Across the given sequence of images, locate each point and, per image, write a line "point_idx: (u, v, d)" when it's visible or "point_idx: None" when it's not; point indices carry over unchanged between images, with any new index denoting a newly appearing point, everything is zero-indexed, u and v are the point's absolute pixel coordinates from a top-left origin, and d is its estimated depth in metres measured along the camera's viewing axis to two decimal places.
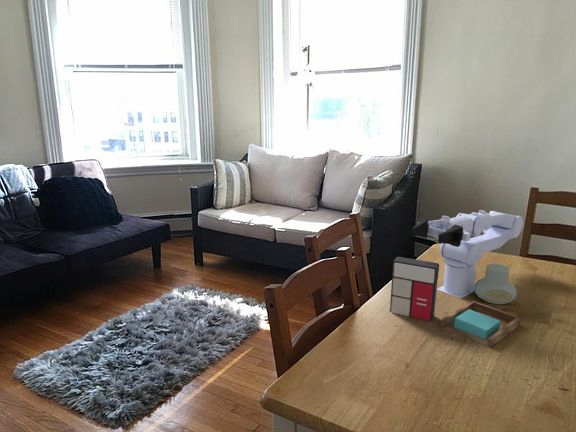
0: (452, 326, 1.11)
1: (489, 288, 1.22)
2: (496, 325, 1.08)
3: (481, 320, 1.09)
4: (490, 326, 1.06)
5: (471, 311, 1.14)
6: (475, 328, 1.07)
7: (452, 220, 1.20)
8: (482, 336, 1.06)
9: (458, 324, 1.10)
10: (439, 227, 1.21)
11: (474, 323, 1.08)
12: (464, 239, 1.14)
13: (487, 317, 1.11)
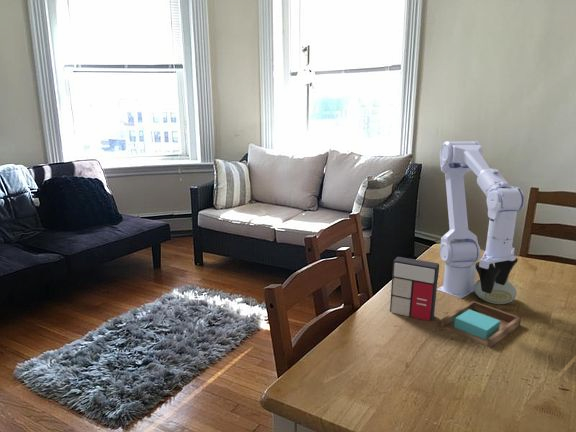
0: (452, 326, 1.11)
1: None
2: (496, 325, 1.08)
3: (481, 320, 1.09)
4: (490, 326, 1.06)
5: (471, 311, 1.14)
6: (475, 328, 1.07)
7: (511, 247, 1.08)
8: (482, 336, 1.06)
9: (458, 324, 1.10)
10: None
11: (474, 323, 1.08)
12: None
13: (487, 317, 1.11)
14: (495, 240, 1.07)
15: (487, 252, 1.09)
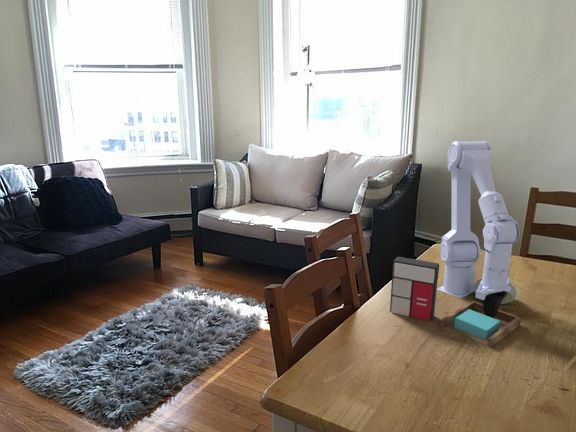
0: (452, 326, 1.11)
1: None
2: (496, 325, 1.08)
3: (481, 320, 1.09)
4: (490, 326, 1.06)
5: (471, 311, 1.14)
6: (475, 328, 1.07)
7: (507, 278, 1.10)
8: (482, 336, 1.06)
9: (458, 324, 1.10)
10: None
11: (474, 323, 1.08)
12: None
13: (487, 317, 1.11)
14: (491, 271, 1.09)
15: (483, 282, 1.11)
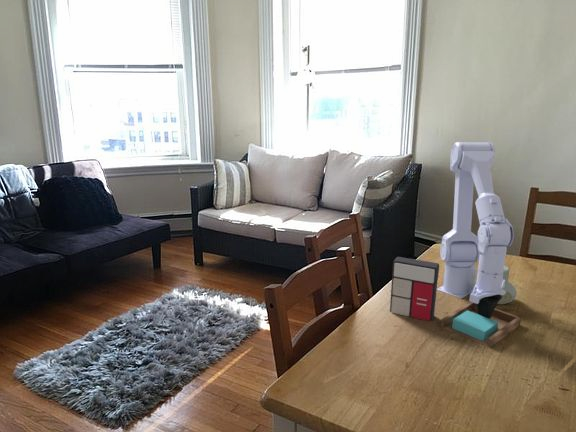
0: None
1: None
2: (494, 326, 1.07)
3: (479, 321, 1.09)
4: (488, 327, 1.06)
5: (469, 312, 1.13)
6: (473, 329, 1.06)
7: (501, 281, 1.08)
8: (480, 337, 1.05)
9: (456, 325, 1.09)
10: None
11: (472, 324, 1.07)
12: None
13: (485, 318, 1.10)
14: (485, 274, 1.07)
15: (477, 285, 1.09)
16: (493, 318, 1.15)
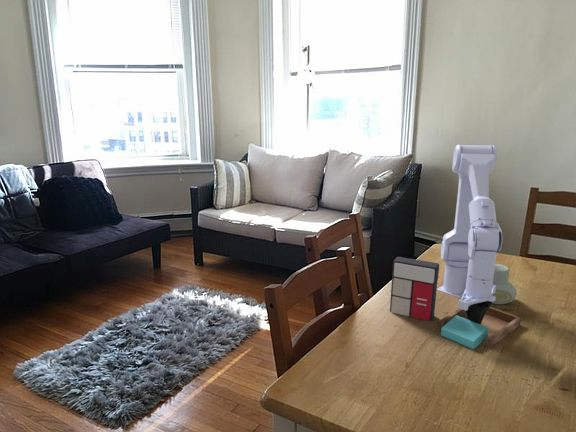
0: None
1: None
2: (484, 333, 1.04)
3: (468, 328, 1.05)
4: (477, 335, 1.02)
5: (458, 317, 1.10)
6: (462, 339, 1.03)
7: (491, 287, 1.05)
8: (469, 347, 1.02)
9: (445, 334, 1.06)
10: None
11: (461, 333, 1.04)
12: None
13: (475, 324, 1.07)
14: (475, 280, 1.04)
15: (467, 291, 1.06)
16: (493, 318, 1.15)
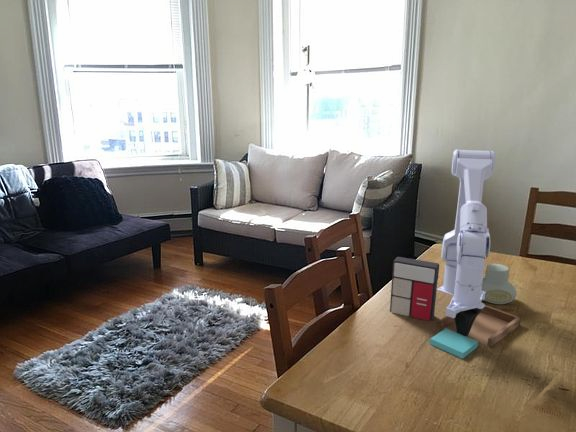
0: (452, 326, 1.11)
1: (489, 288, 1.22)
2: (473, 346, 1.01)
3: (458, 341, 1.02)
4: (467, 348, 0.99)
5: (448, 330, 1.06)
6: (451, 350, 0.99)
7: (480, 294, 1.01)
8: None
9: (434, 345, 1.03)
10: None
11: (450, 344, 1.01)
12: None
13: (464, 337, 1.04)
14: (463, 287, 1.00)
15: (455, 298, 1.03)
16: (493, 318, 1.15)
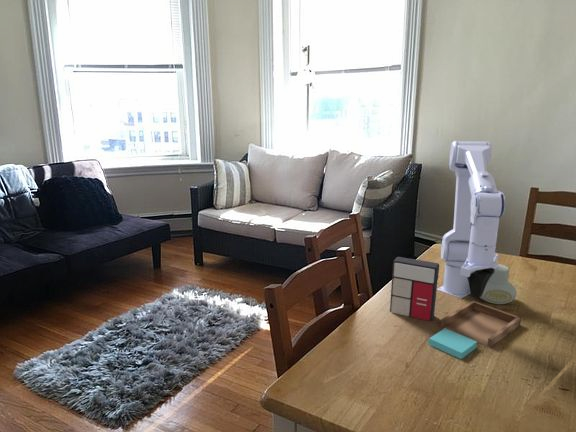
0: (452, 326, 1.11)
1: (489, 288, 1.22)
2: (472, 347, 1.01)
3: (457, 341, 1.02)
4: (466, 348, 0.99)
5: (447, 330, 1.06)
6: (450, 350, 0.99)
7: (494, 254, 1.03)
8: None
9: (433, 345, 1.02)
10: None
11: (449, 344, 1.00)
12: None
13: (463, 337, 1.03)
14: (477, 247, 1.02)
15: (469, 259, 1.05)
16: (493, 318, 1.15)
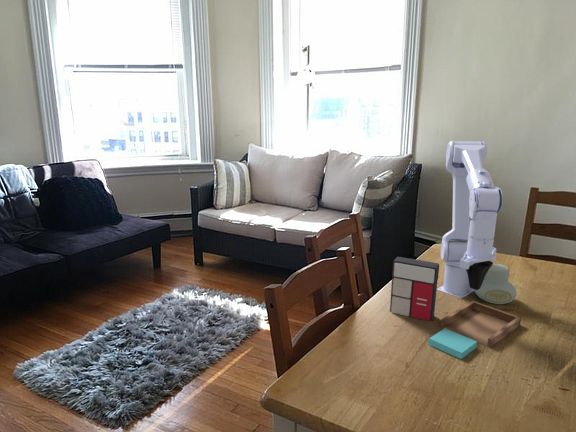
0: (452, 326, 1.11)
1: (489, 288, 1.22)
2: (472, 346, 1.01)
3: (457, 341, 1.02)
4: (466, 348, 0.99)
5: (447, 330, 1.06)
6: (450, 350, 0.99)
7: (492, 247, 1.07)
8: None
9: (433, 345, 1.02)
10: None
11: (449, 344, 1.00)
12: None
13: (463, 337, 1.03)
14: (475, 240, 1.07)
15: (468, 252, 1.09)
16: (493, 318, 1.15)
